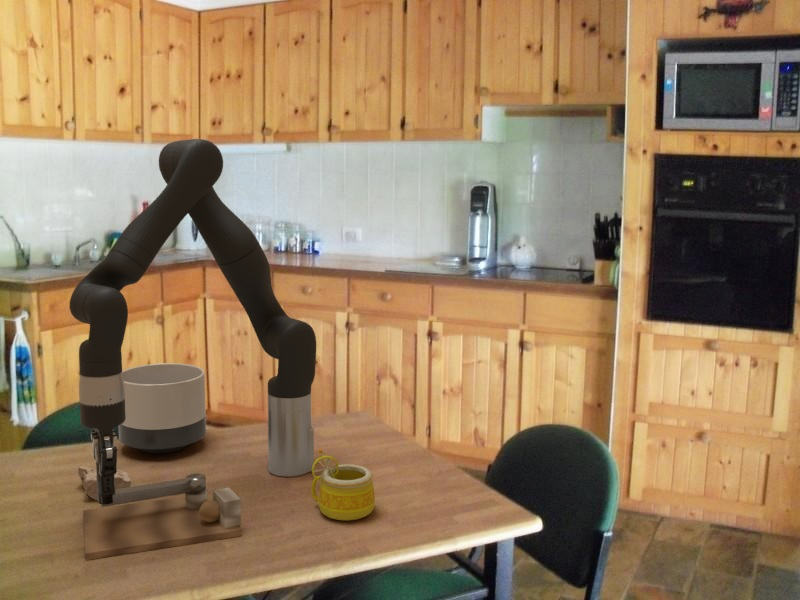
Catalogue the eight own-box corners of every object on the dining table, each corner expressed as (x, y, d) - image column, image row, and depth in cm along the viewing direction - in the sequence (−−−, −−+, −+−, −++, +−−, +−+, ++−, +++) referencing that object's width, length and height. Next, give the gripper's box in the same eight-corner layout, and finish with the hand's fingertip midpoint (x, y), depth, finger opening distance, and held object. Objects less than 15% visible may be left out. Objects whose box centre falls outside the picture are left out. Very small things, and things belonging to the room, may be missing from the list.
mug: (383, 505, 158) (384, 446, 156) (362, 528, 148) (363, 466, 146) (323, 495, 162) (323, 438, 160) (299, 517, 152) (298, 456, 150)
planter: (103, 459, 179) (100, 382, 176) (142, 431, 198) (140, 361, 195) (186, 465, 177) (184, 386, 174) (218, 436, 196) (216, 365, 193)
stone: (85, 504, 156) (84, 480, 155) (77, 484, 166) (76, 461, 165) (133, 497, 160) (132, 473, 160) (122, 477, 170) (122, 454, 169)
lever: (203, 484, 155) (202, 441, 154) (207, 491, 152) (206, 447, 151) (96, 501, 147) (94, 456, 145) (99, 508, 144) (97, 463, 142)
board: (224, 497, 161) (224, 467, 160) (243, 535, 144) (242, 502, 143) (83, 516, 151) (81, 484, 150) (85, 560, 134) (83, 525, 133)
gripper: (131, 405, 138) (134, 501, 141) (118, 385, 150) (121, 473, 153) (84, 411, 135) (89, 509, 138) (75, 389, 147) (79, 479, 150)
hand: (106, 489), depth 145 cm, fingers closed on lever, 3 cm apart
